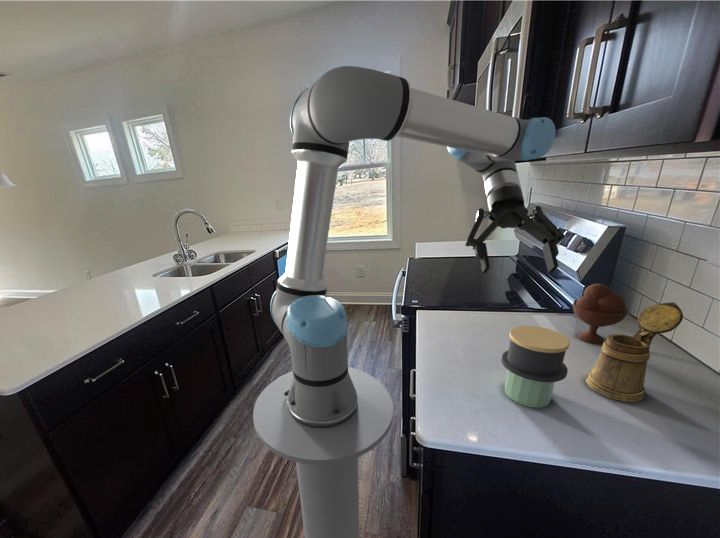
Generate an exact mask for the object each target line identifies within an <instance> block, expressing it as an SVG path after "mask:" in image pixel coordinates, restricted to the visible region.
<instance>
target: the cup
mask: <svg viewBox="0 0 720 538" xmlns="http://www.w3.org/2000/svg"><path fill="white" fill-rule="evenodd" d="M555 384H556V382H539V381H533V380H529V379H526V378H523V377H520V376H518V375H516V374H514V373H512V372H510V371H509V370H508V369H507V371H506V376H505V383H504V393H505V395H506V396H507V397H508V398H509V399H510V400H512V401H513V402H515V403H517V404H520V405H521V406H525V407H529V408H544V407H547V406H548V405H549V404H550V402H551V399H552V396H553V391H554V387H555Z"/></svg>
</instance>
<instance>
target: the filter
mask: <svg viewBox="0 0 720 538" xmlns="http://www.w3.org/2000/svg"><path fill="white" fill-rule="evenodd" d="M509 339H510V340H509V346H508V350H505V351H503V353H502V355H501V359H500V361H501V364H502V366H503V367H504V368H505V369H506V370H507V371H508V370H509V371H510V372H512V373H514V374H516V375H518V376H520V377H523V378H526V379H529V380H533V381H539V382H555V383H557V382H561V381H563V380H565V379H566V377H567V375H568V367H567V365H566V364H565V362H564V359H565V356H566V351H567V350H568V349H569V348H570V346H571V345H570V344H571V342H570V340H569V338H568V337H567V336H566V335H564V334H562V333H560V332H558V331H556V330H553V329H549V328H546V327H541V326H536V325H520V326H516V327H515V326H514V327H513V328H512V329H511V330H510V331H509Z"/></svg>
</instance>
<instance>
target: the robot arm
mask: <svg viewBox="0 0 720 538" xmlns="http://www.w3.org/2000/svg"><path fill="white" fill-rule="evenodd" d="M289 128H290V132H291V135H292V145H291V146H292V147H291V154H292V156H293V157H294V159H295V160H296V162H297V169H296V175H295V183H294V194H293V200H292V201H293V202H292V211H291V218H290V219H291V220H290V227H289V237H288V244H287V245H288V246H287V252H286V253H287V254H286V263H285V271H284V273H283V274H281V276H280V277H278V279H277V283H276V290H275V291H274V293H272V296H271V300H270V305H269V306H270V307H269V310H270V315H271V318H272V320H273V322H274V324H275V326H277V328H278V329H279V331H280V333H281V334H282V336H283V338H284V339H285V341H286V342H287V345H288V346H289V350H290V351H289V352H290V357H291V358H290V359H291V366H292V371H293V379H292V383H291V387H290V390H288V391H286V392H284V395H285V396H287V395H288V409H289V412H290V415H291V416H292V417H293V418H294V419H295V420H296V421H297V422H299V423H300V424H303V425H305V426H308V427H313V428H329V427H333V426H337V425H340V424H342V423H344V422H346V421H347V420H348V419H350V418H351V417H352V416H353V414H354V413H355V411H356V409H357V405H358V399H357V392H356V389H355V387H354V384H353V382H352V380H351V377H350V375H349V373H348V367H349V356H348V355H349V353H348V350H349V349H348V328H349V327H348V320H347V314H346V313H347V312H346V310H345V307H344V306H343V305H342V303H341V302H340V301H339V300H337V299H335V298H333V297H330V296H327V289H328V285H327V284H326V282H325V281H324V279H323V272H324V264H325V259H326V252H327V245H328V239H329V232H330V227H331V226H330V225H331V218H332V213H333V207H334V200H335V192H336V186H337V181H338V180H337V178H338V173H339V169H340V168H341V167H342V166H343V165H344V164H346V163H347V160H348V155H349V149H350V143H352V142H354V141H355V142H356V141H361V140H362V141H363V140H380V141H385V142H389V141H393V140H394V139H395V138H396V137H398V138H401V139H407V140H412V141H417V142H421V143H427V144H431V145H436V146H441V147H447V151H448V153H449V154H450V155H451V156H452V157H454V158H455V160H457V161H460V162H461V163H463V164H464V165H466V166H467V167H469V168H471V169H472V170H473V171H475V172H477V173H478V174H480V175H481V176H482V180H483V185H484V191H485V195H486V202H487V209H488V210H484V208H478V209H477V212H476V214H475V222H474V223H473V226H472V228H471V230H470V233H468V234H469V235H468V237H467V238H466V241H465V243H464V245H465V246H466V247H472V250H473V251H474V255H475V256H474V257H475V259H476V260H479V261H480V267H481V274H487V273H488V270H489V269H490V268H491V267H490V261H489V254H488V248H487V242H485V241H486V240H487V239H488V238H489V237H490V236H491V234H493V232H494V231H496V230H497V228H501V229H507V228H508V229H516V228H517V229H519V230H521V231H525V232H526V233H527V234H529V235H530V236H531V237H533V238H534V239H536V241H539V242H540V243H541V244H543V246H542V253H543V256H544V260H545V265H546V269H547V273H553V272H554V271H555V270H557V268H559V264H558V263H559V262H558V259H557V256H559V253H560V252H559V249H558V245H559V244H560V243H561V242H562V241H563V240H564V238H565V237H566V235H565V234H564V233H563V231H562V230H561V229H559V228H558V227H557V225H556V224H555V223H553V222H552V221H551V219H549V218H548V216H547V215H546V214H545V213H544V212H543V208H542V207H541V206H540V205H535V207H534V208H530V209H528V208H527V207H526V206H525V198H524V195H523V190H522V186H521V185H522V184H521V182H520V181H521V180H520V177H519V173H518V170H517V169H518V168H517V164H516V161H519V162H520V161H525V162H526V161H527V162H528V161H529V160H536V159H540V158H542V157H545V156H546V154H548V153H549V152H550V151H551V148H552V147H553V145H554V141H555V138H556V125H555V123H554V122H553V120H552V119H550V118H549V117H546V116H544V117H543V116H541V117H531V118H530V119H522V118H518V117H514V116H510V115H508V114H507V115H506V114H503V113H500V112H497V111H493V110H489V109H486V108H482V107H478V106H476V105H473V104H468V103H465V102H461V101H458V100H454V99H451V98H447V97H445V96H440V95H437V94H434V93H430V92H426V91H423V90H419V89H416V88H412V87H411V84H410V82H409V80H408V79H407V78H405V77H402V76H398V75H395V74H392V73H388V72H384V71H379V70H376V69H372V68H368V67H362V66H355V65H342V66H338V67H333V68H331V69H328V70H327V71H326V72H324V73H323V74H322V75H321V76H320V77H318V79H316V81H315V82H313V83H312V84H311V85H309V86H308V87H306V88H305V89H304V90H302V92H300V93H299V95H298V96H297V98H296V99H295V101H294V103H293V105H292V107H291V110H290V117H289ZM487 218H488V219H489V220H490V221H491V223H490V224H489V225H488V227H486V228H485V229H484V231H482V233H481V234H480V235H479V236H478V238H475V236H476V234H477V232H478V231H479V228H480V226H481V224H482V222H483V221H485V220H486V219H487ZM522 222H523V223H522ZM326 296H327V297H326Z"/></svg>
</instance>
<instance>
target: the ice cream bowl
mask: <svg viewBox="0 0 720 538" xmlns="http://www.w3.org/2000/svg"><path fill="white" fill-rule="evenodd" d="M582 295H583V296H580V297H579V298H578V299H574V300H573V303H572V310H573V314H574V315H575V316H576V317H577V318H578V319H579V320H580V321H581V322H583V323H584V324H586V325H588V330H587V331H584V332H579V333H578V334H577V338H578V339H579V340H581V341H583V342H586V343H589V344H597V345H598V344H604V337H603V336H601V335H599V334H598V333H597V332H598V329H599V328H602V327H603V328H604V327H609V326H613V325H616V324H618V323H620V322H622V321H623V320H624V319H625V318H626V316H627V315H628V313H629V311H628V307H626V301H625V298H624V297H623V296H622V295H621V294H619V293H617V292H615V291H612V290H611V288H610V287H609V286H608V285H606V284H602V283H593V284H590V285H587V286H586V288H585V289H584V291H583V294H582Z"/></svg>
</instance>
